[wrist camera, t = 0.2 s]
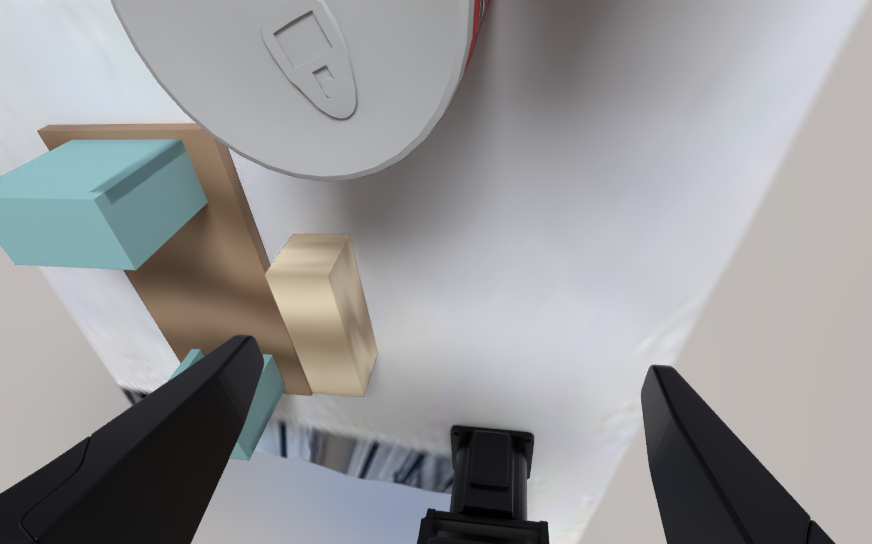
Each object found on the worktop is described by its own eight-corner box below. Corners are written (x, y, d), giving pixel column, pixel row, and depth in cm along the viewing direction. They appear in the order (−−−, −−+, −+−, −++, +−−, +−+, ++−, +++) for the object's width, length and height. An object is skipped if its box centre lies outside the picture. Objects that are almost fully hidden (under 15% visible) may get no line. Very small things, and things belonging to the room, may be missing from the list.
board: (314, 387, 36) (311, 395, 36) (200, 377, 38) (194, 385, 37) (218, 123, 23) (210, 129, 22) (49, 125, 25) (36, 130, 24)
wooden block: (378, 350, 33) (363, 396, 29) (332, 347, 33) (312, 393, 30) (350, 232, 26) (327, 276, 23) (294, 232, 27) (264, 274, 24)
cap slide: (285, 386, 35) (246, 464, 30) (209, 379, 36) (160, 454, 31) (272, 354, 33) (228, 434, 28) (192, 348, 34) (135, 424, 29)
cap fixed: (208, 202, 25) (135, 270, 21) (106, 200, 26) (15, 264, 22) (181, 139, 23) (93, 199, 18) (71, 139, 24) (-39, 196, 19)
